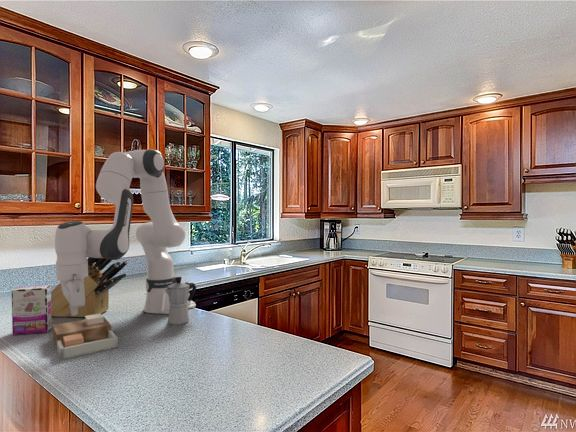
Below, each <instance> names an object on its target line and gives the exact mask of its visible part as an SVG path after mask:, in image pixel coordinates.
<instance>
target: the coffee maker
mask: <svg viewBox="0 0 576 432" xmlns="http://www.w3.org/2000/svg"><path fill="white" fill-rule="evenodd" d="M175 277H176V283H175V284H172V285H169V286H167V289H165V291H166V292H167V294H168V296H169V302H170V303H171V305H170V309H169V314H167V324H169V325H171V326H175V325H176V326H178V325H184V323H185V324H187V323H189V321H190V315H189V309H188V308H187V304H186V302H187V301H192V299H193V296H194V295H195V292H196V290H197V286H196V284H195V283H194V282H187V281H186V282H182V278H183V277H182V276H175ZM190 290H191V291H190ZM188 295H189V298H188Z"/></svg>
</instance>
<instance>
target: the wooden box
mask: <svg viewBox="0 0 576 432" xmlns="http://www.w3.org/2000/svg"><path fill="white" fill-rule="evenodd" d="M102 316H103V315H102ZM103 317H104V322H103V323H98V324H92V325H87V324H86V322H85V319H81V320H75V321H69V322H63V323H62V322H61V323H57V324H52V341H53V343H54V346H55V348H56V350H57V340H61V342H62V344H63V337H64V336H69V335H75V334H80V333H81V334H82V336H83V338H84V343H87V342H92V341H97V340H102V339H106V338H108V331H109V330H112V324H111V323H110V322H109V321H108V320H107V319H106V318H105V316H103Z"/></svg>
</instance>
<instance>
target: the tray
mask: <svg viewBox="0 0 576 432" xmlns="http://www.w3.org/2000/svg"><path fill="white" fill-rule="evenodd" d="M114 347H117V348H119V338H118V336H117V335H116V334H115V333H114V332H113V330H112V329H111V330H109V331H108V338H106V339H102V340H97V341H92V342H87V343H84V344H79V345H74V346H69V347H65V348H64V347H63V344H62V342H61V340H57V349H56V353H57V354H58V357H59V359H60V361H62V360H66V359H71V358H76V357H80V356H84V355H89V354H94V353H98V352H97V351H99V352H102V351H101V350H104V351H107V350H106V349H108V350H111V349H110V348H113V349H115V348H114ZM93 352H94V353H93Z"/></svg>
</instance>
